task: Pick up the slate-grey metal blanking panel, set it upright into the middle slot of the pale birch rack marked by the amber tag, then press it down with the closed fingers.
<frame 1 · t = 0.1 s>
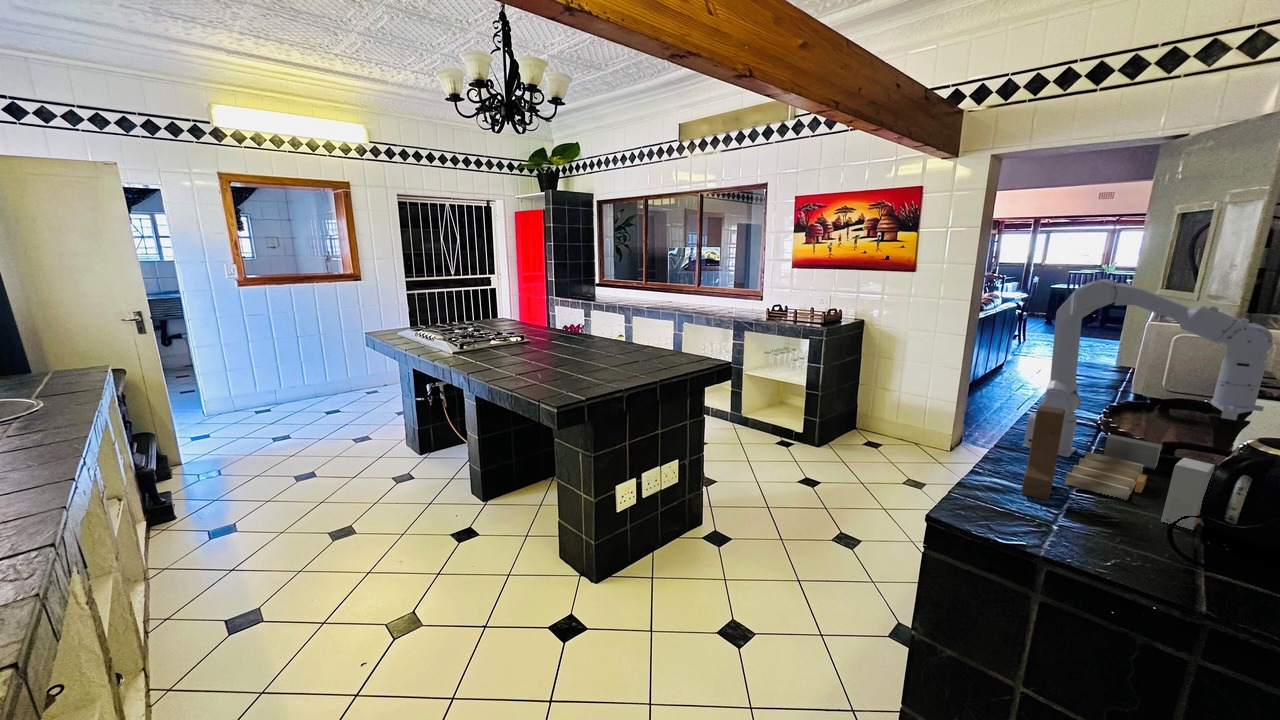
hand: (1222, 444, 105), 10 cm above the table, tool pointing down, fingers open, 7 cm apart
wooden block: (1036, 491, 107), on the table
blanking panel: (1128, 464, 119), on the table
rack: (1103, 479, 111), on the table
skincare box: (1180, 523, 94), on the table
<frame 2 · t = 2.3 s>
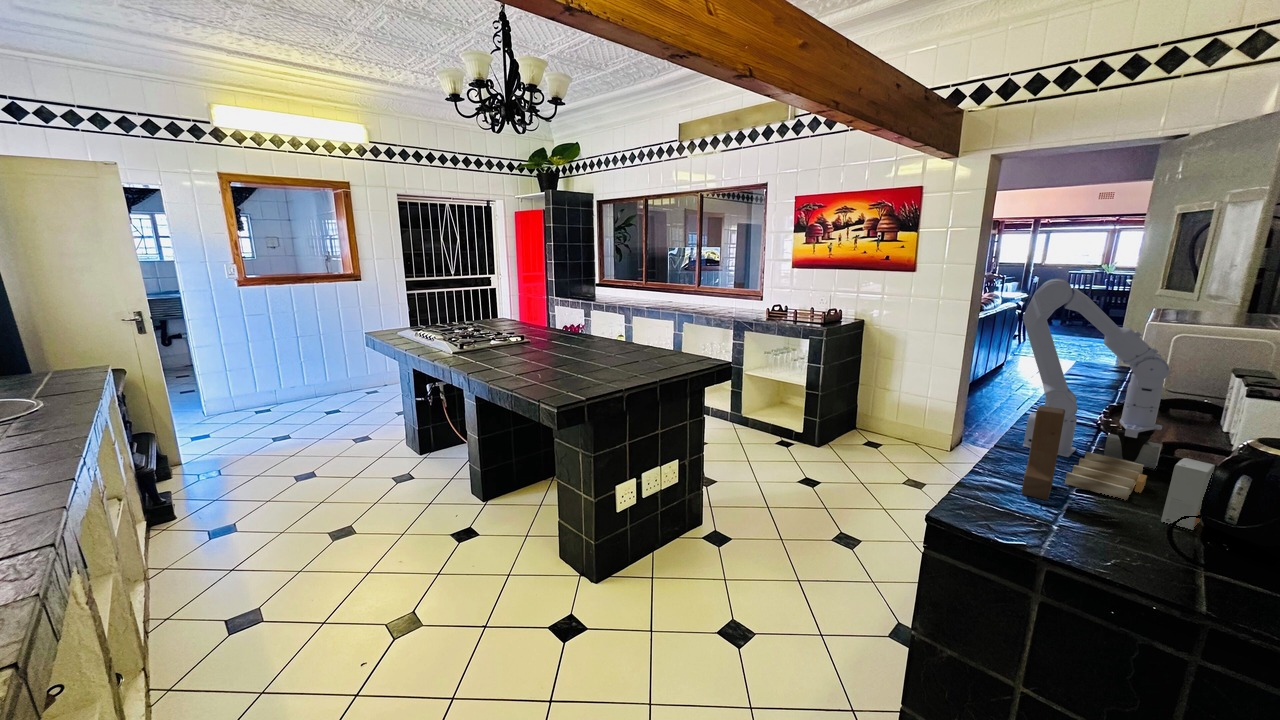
hand: (1130, 458, 119), 1 cm above the table, tool pointing down, fingers closed on blanking panel, 3 cm apart
blanking panel: (1129, 463, 119), on the table, touching gripper
everything else where it was.
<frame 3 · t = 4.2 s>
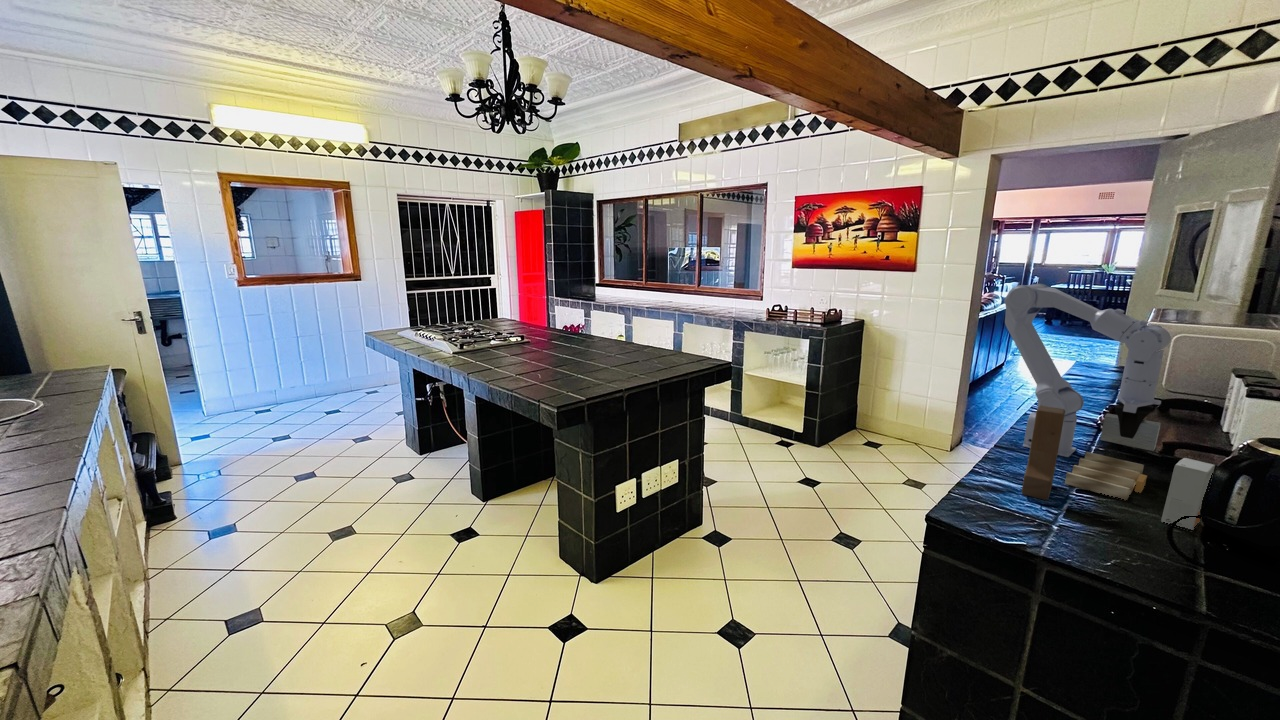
hand: (1128, 435, 114), 8 cm above the table, tool pointing down, fingers closed on blanking panel, 3 cm apart
blanking panel: (1127, 443, 115), point 6 cm above the table, touching gripper
everything else where it was.
when the fingers open (4 cm above the table, at t = 6.5 s): blanking panel drops 1 cm, resting on rack.
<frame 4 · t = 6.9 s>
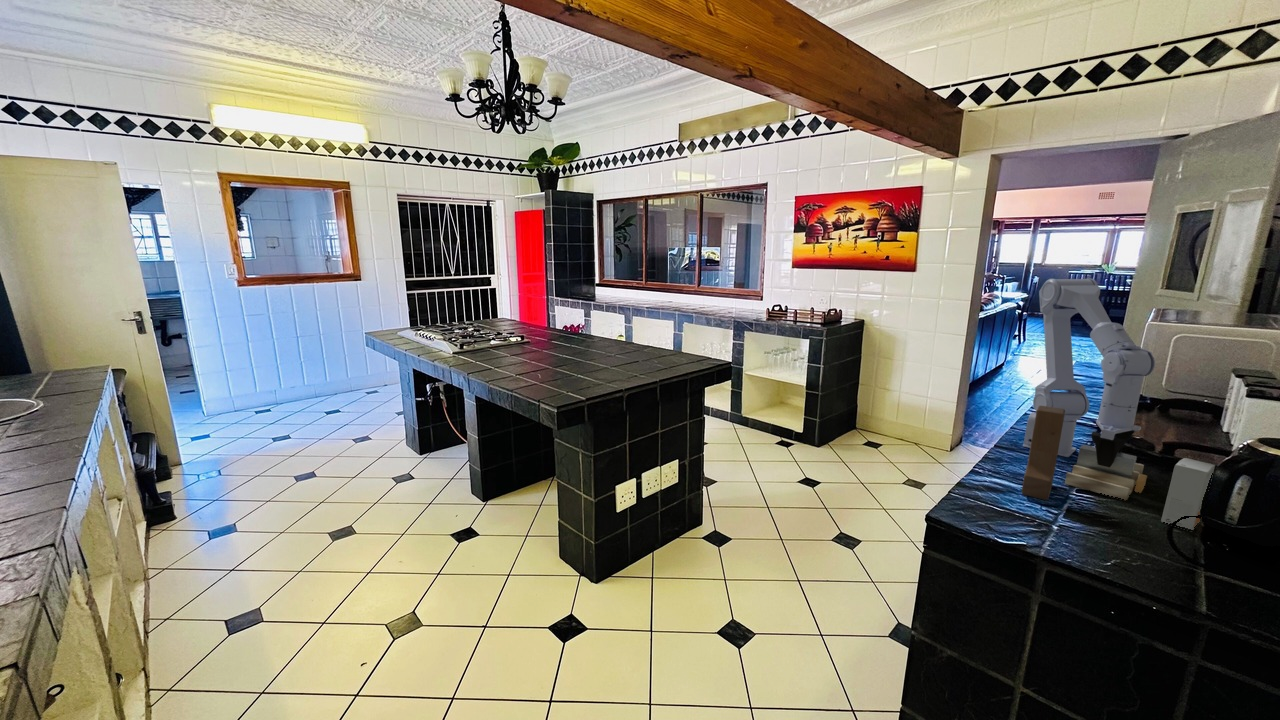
hand: (1107, 461, 110), 4 cm above the table, tool pointing down, fingers open, 6 cm apart
blanking panel: (1102, 476, 111), point 1 cm above the table, touching rack
everything else where it was.
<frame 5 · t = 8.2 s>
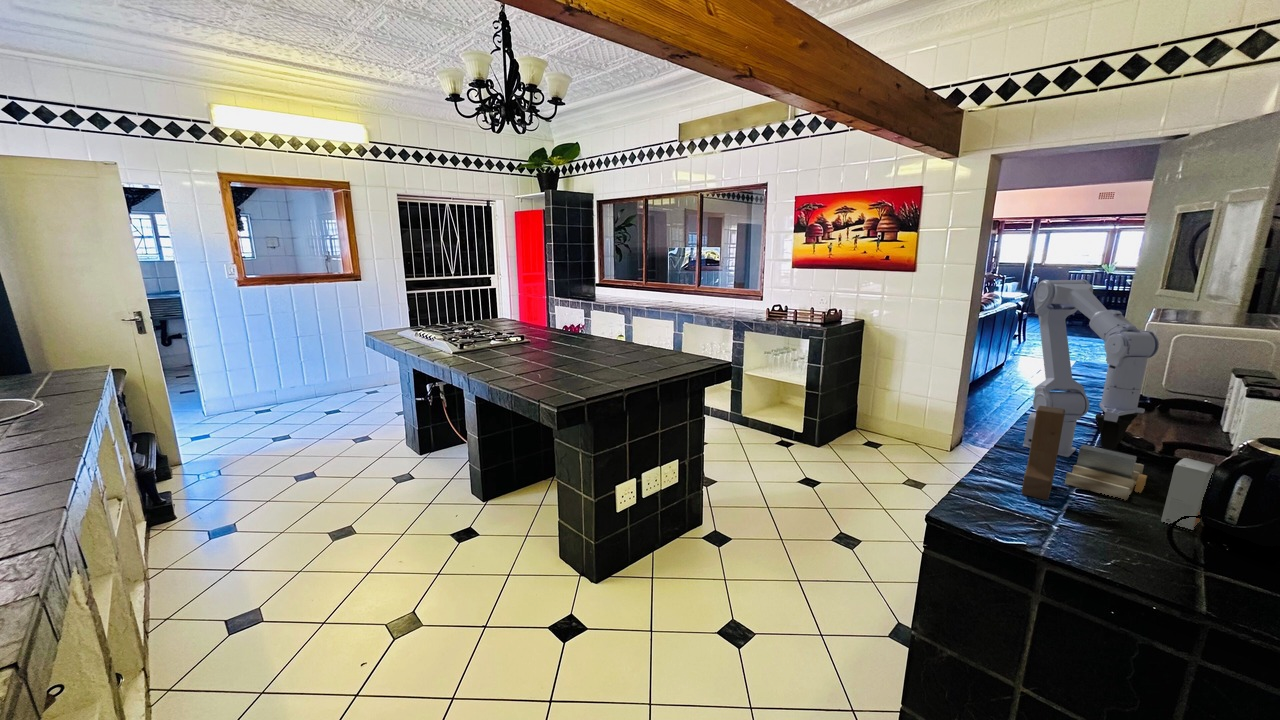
hand: (1110, 444, 109), 8 cm above the table, tool pointing down, fingers open, 5 cm apart
nothing on the table moved.
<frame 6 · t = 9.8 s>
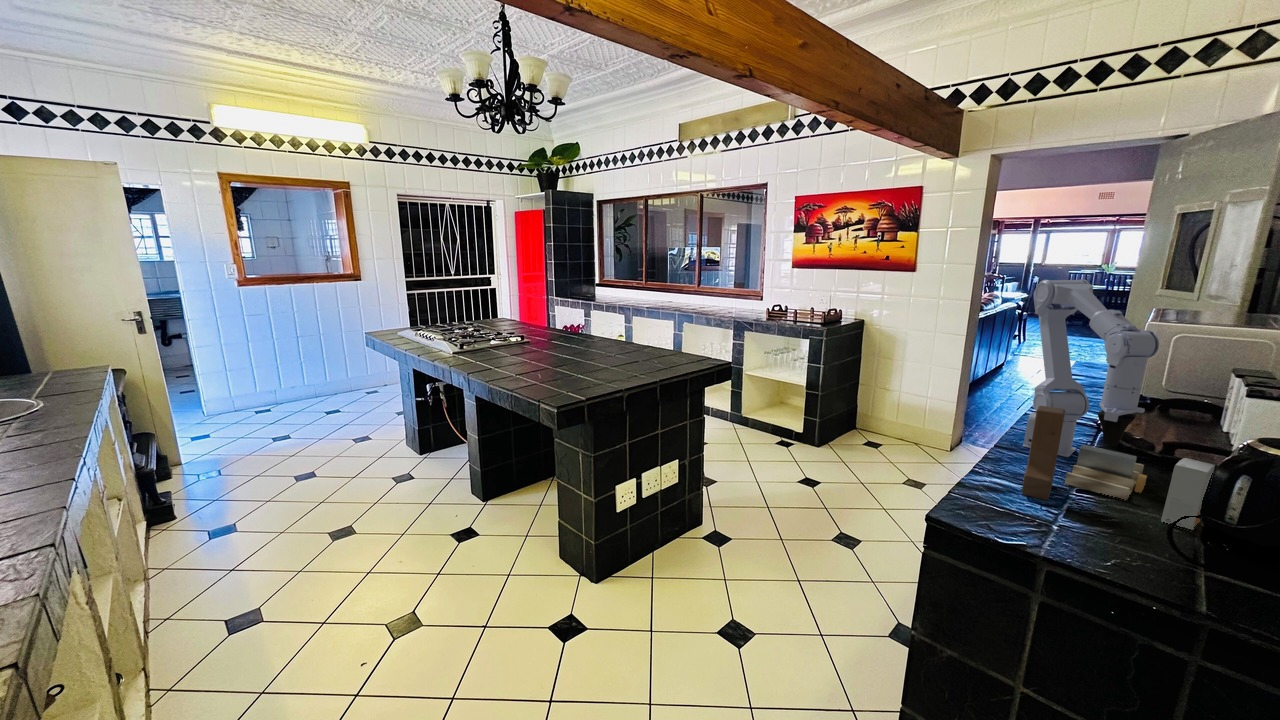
hand: (1110, 444, 109), 8 cm above the table, tool pointing down, fingers closed
nothing on the table moved.
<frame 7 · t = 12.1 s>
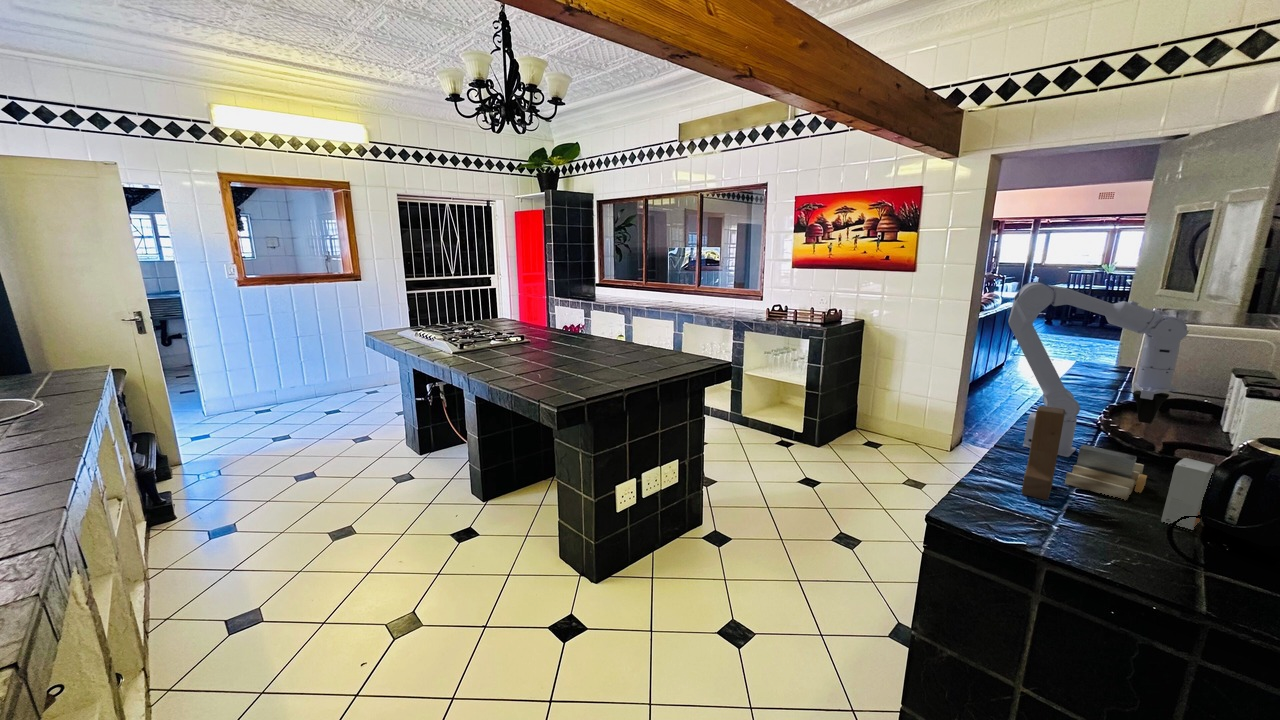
hand: (1144, 422, 117), 10 cm above the table, tool pointing down, fingers closed
nothing on the table moved.
at the end: blanking panel 0.3 cm off-centre on the rack, point 0.6 cm above the rack's base; blanking panel tilted 0°; the gripper is holding nothing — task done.
